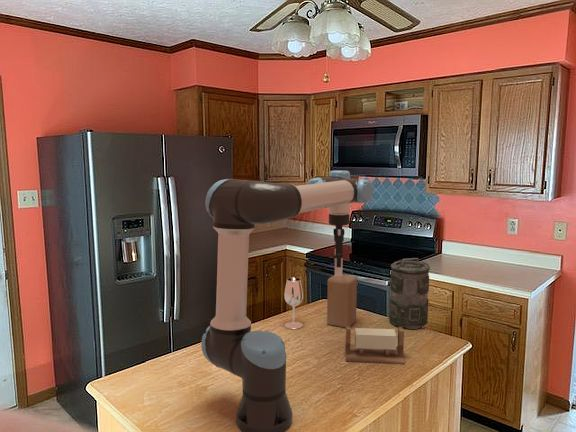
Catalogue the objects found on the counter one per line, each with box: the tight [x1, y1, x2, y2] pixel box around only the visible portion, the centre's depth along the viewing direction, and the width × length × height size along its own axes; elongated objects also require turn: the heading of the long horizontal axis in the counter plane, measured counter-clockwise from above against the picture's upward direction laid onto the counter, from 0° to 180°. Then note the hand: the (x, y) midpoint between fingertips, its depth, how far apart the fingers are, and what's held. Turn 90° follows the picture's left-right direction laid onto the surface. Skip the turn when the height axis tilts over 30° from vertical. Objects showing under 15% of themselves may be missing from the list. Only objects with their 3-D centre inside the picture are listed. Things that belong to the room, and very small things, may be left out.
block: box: [326, 274, 358, 329], centre depth 189 cm, size 10×10×20 cm
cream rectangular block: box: [354, 327, 398, 350], centre depth 160 cm, size 6×14×5 cm, turn 85°
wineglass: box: [283, 277, 304, 330], centre depth 187 cm, size 8×8×20 cm
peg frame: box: [344, 325, 406, 365], centre depth 161 cm, size 13×20×10 cm, turn 84°
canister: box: [388, 257, 431, 330], centre depth 189 cm, size 16×16×28 cm
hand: (338, 270), depth 165 cm, fingers open, 13 cm apart
